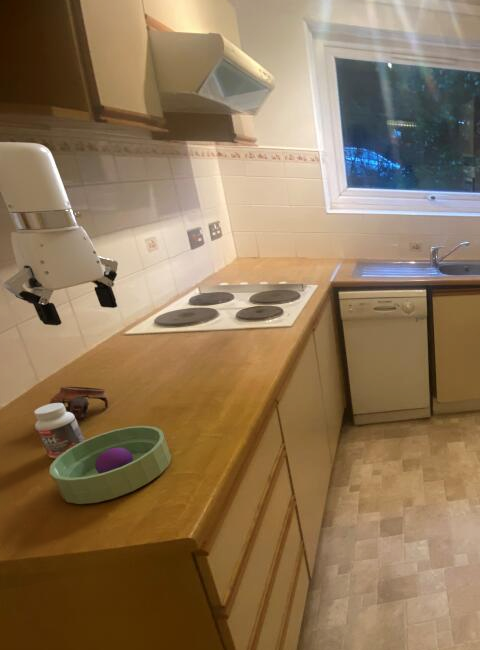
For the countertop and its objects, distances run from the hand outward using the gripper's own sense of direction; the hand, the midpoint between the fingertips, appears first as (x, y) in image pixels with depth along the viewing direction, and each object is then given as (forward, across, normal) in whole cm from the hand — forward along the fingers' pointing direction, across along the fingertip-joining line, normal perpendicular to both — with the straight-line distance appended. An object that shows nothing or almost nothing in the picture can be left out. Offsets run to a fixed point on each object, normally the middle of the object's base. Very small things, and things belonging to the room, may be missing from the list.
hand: (82, 315), depth 81 cm
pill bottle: (+26, +7, -6) cm, 28 cm away
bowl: (+26, +11, +11) cm, 31 cm away
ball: (+23, +11, +11) cm, 28 cm away
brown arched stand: (+26, -3, -16) cm, 31 cm away
